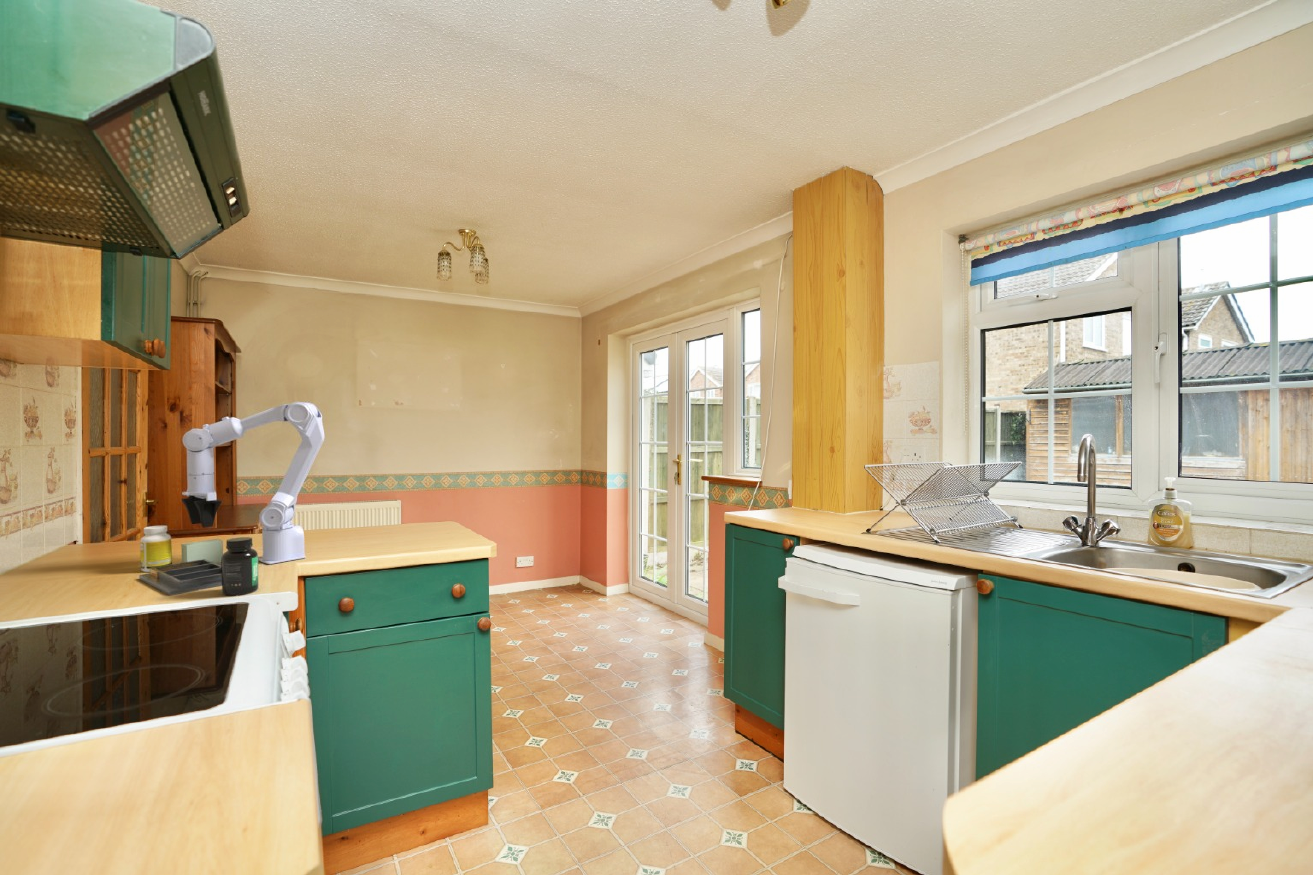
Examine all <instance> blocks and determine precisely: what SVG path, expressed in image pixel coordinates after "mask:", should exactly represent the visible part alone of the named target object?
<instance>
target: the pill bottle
mask: <svg viewBox="0 0 1313 875" xmlns="http://www.w3.org/2000/svg"><path fill="white" fill-rule="evenodd" d="M167 532H168V525H152V526H151V525H150V526H146V527H143V534H144V536H142V537H141V538H140V542H139V544H140V545H139V547H140V568H141V571H142V572H144V573H150V568H152V567H158V566H165V565H171V564H173V550H172V545H173V544H172V536H171V535H170V534H169V533H167Z"/></svg>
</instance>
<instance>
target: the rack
mask: <svg viewBox="0 0 1313 875" xmlns="http://www.w3.org/2000/svg"><path fill="white" fill-rule="evenodd" d="M138 579H139V580H140V581H142V582H144V583H146V584H148V585H149V586H151V587H153V588H155V589H157V590H159V591H161V592H162V593H163V594H166V595H167V596H174V595H179V594H181V595H182V594H185V592H186V593H190V591H191V592H196V591H200V590H199V589H201V590H206V589H211V588H212V589H213V588H215V587H222V571H221V564H219V563H217V564H216V563H213V562H211V561H208V560H206V559H202V560H195V561H189V562H183V563H182V562H178V563H172V564H171V565H165V566H158V567H152V568H150V572H148V573H143V574H138ZM195 590H196V591H195Z"/></svg>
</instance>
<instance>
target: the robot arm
mask: <svg viewBox="0 0 1313 875" xmlns="http://www.w3.org/2000/svg"><path fill="white" fill-rule="evenodd" d="M274 422H283V423H284V422H289V423H290V424H291V425H292V426H293V427H294V428H295V429H296V430H297V432H298V434H299V435H300V438H301V439H302V440H301V441H300V444H299V446H298V447H297V450H296V453H295V454H294V456H293V458H292V460H291V462H290V464H289V467H288V468H287V471H286V473H285V475H284V476H283V479H282V481H281V483H280V486H278V489H277V492H276V493H275V494H274V495H273V497H272V498H271V499H270V501H269V503H268V505H267V506H266V507H264V508H263V509H262V510H261V511H260V513H259V516H258V517H259V519H258V520H259V523H260V524H261V526H262V527H261V529H262V530H261V532H262V533H261V534H262V537H261V540H262V557H258V562H261V563H265V564H267V565H272V564H273V565H274V564H279V563H284V562H285V563H286V562H289V561H294V560H300V559H301V560H302V559H305V558H307V556H306V555H305V552H306V551H305V533H304V529H303V527H302V526H301V525H299V524H298V525H294V524H293V521H292V520H293V519H294V517H295V514H296V511H295V510H296V509H295V508H296V505H297V503H298V495H299V493H300V491H301V489H302V487H303V485H304V482H305V480H306V479H307V477H308V474H309V472H310V470H311V468H312V467H313V464H314V462H315V460H316V458H317V456H318V453H319V452H320V449H321V448H322V445H323V443H324V441H325V439H326V438H325V436H326V435H325V430H324V424H323V415H322V413H321V411H320V409H319V408H318V406H316V405H315V404H314V403H313V402H310V401H309V402H308V401H304V402H303V401H302V402H301V401H293V402H291V403H286V404H281V405H277V406H273V407H271V408H268V409H266V410H263V411H260V412H258V413H255V414H252V415H249V416H247V417H243V418H242V419H239V418H237V417H233V416H232V417H229V416H225V417H222V418H221V420H220V421H218V422H214V423H211V424H208V423H207V424H203V425H202V428H191V430H189V431H186V432H185V433H184V435H183V436H182V444H183V446H184V447H185V448H186V474H187V478H186V480H187V481H186V482H187V489H186V491H182V492H181V494H182V496H186V497H185V498H181V502H182V504H183V505H184V506H185V509H186V511H187V513H188V517H189V520H190V523H191V525H198V524H199V525H200V524H201V527H202V528H204V529H205V528H212V527H213V526H214V522H215V518H216V515H217V512H218V510H219V507H220V506H221V504H222V503H223V501H222V500H221V499H217V492H216V489H215V487H216V486H215V457H214V456H215V454H214V453H215V452H214V448H215V447H216V446H220V445H223V444H226V443H229V442H231V441H232V442H233V441H234V440H235V441H236V440H237V439H241V438H244V436H245V434H246V432H247V431H249V430H253V429H255V428H258V427H261V426H264V425H267V424H271V423H274Z"/></svg>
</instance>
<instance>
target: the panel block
mask: <svg viewBox="0 0 1313 875" xmlns="http://www.w3.org/2000/svg"><path fill="white" fill-rule="evenodd" d="M180 546H181V547H180V548H181V563H183V562H189V561H195V560H202V559H206V560H208V561H211V562H213V563H216V564H221V557H222V555H223V554H224V540H222V539H218V538H213V539H208V540H207V539H206V540H200V541H199V540H198V541H193V542H192V541H191V542H187V543H186V542H183V543H181V545H180Z"/></svg>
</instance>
